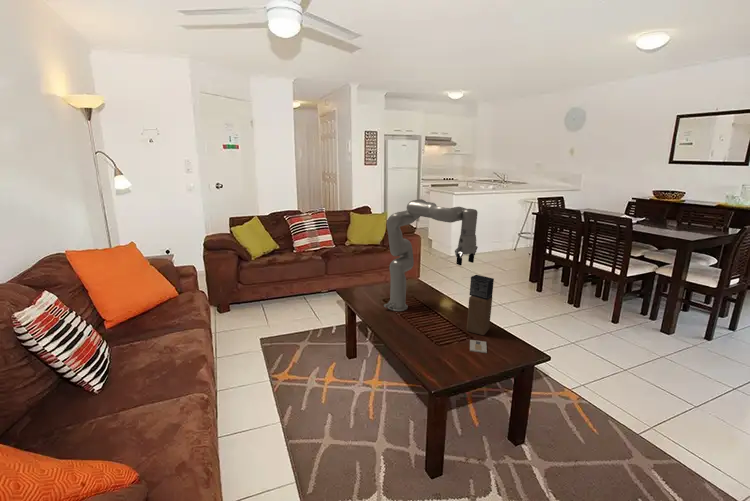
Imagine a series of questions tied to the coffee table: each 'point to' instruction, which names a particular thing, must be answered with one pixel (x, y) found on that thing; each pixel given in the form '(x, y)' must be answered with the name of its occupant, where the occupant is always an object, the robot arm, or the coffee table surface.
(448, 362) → the coffee table surface
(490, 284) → the small box
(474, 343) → the card
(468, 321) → the wooden block
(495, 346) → the coffee table surface
